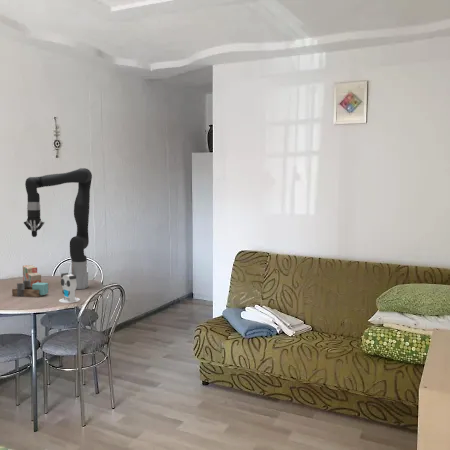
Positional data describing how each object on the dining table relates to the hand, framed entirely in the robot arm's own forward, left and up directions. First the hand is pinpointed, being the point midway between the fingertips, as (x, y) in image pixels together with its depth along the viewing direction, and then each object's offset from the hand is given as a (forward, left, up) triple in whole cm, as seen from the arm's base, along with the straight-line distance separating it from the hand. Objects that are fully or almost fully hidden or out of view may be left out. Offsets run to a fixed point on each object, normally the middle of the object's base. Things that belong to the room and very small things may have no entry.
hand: (34, 236), depth 300 cm
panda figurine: (-34, +28, -32) cm, 55 cm away
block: (-13, +20, -31) cm, 39 cm away
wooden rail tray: (-6, +20, -32) cm, 38 cm away
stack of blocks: (+3, -1, -32) cm, 33 cm away
